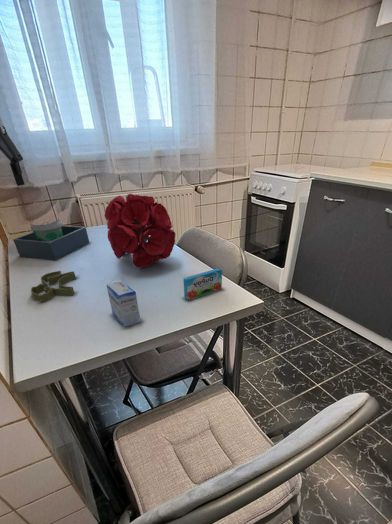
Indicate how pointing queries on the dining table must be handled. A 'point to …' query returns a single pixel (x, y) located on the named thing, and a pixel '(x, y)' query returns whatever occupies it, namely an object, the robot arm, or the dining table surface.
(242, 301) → the dining table surface
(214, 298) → the dining table surface
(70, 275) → the cookie cutter
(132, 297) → the medicine box
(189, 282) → the light blue food packet
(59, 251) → the tote
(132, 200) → the bouquet
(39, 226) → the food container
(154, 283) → the dining table surface
